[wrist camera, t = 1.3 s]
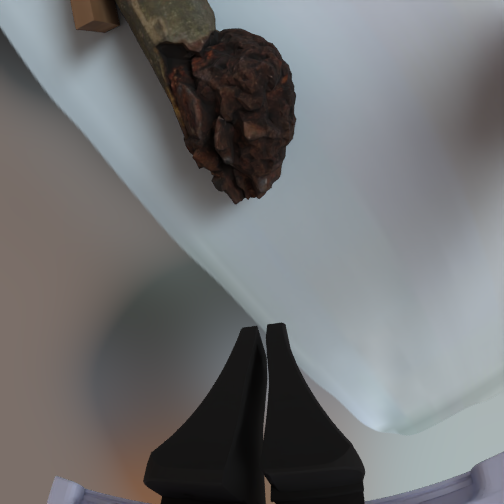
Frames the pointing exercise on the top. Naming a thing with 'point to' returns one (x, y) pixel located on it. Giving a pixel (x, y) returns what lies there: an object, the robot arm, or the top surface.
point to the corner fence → (95, 15)
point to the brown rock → (219, 91)
